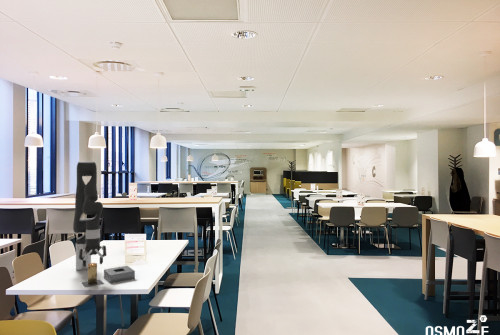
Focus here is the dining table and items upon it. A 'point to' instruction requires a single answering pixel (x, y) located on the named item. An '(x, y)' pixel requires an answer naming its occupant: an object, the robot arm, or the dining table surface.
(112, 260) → the dining table surface
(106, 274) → the housing
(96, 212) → the robot arm
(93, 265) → the brass cylinder
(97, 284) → the mat
